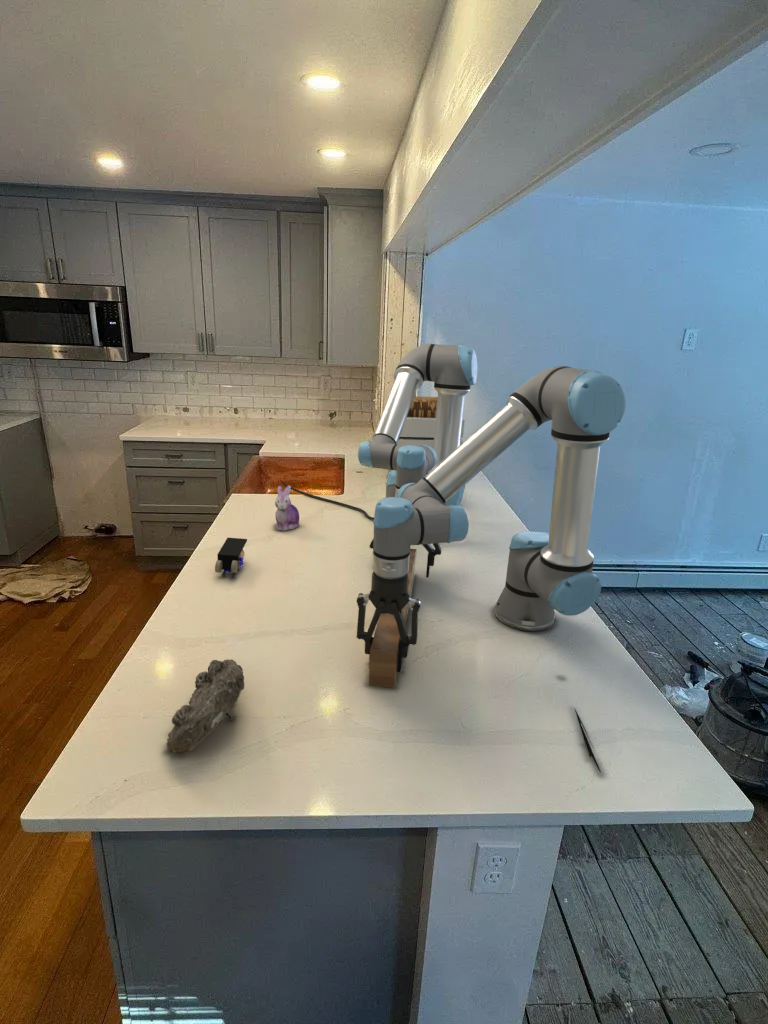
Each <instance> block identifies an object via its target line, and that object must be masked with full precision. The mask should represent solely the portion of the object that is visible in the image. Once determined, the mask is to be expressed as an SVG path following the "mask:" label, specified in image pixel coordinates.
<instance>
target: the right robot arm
mask: <svg viewBox="0 0 768 1024" xmlns="http://www.w3.org/2000/svg"><path fill="white" fill-rule="evenodd" d="M626 401H627V400H626V395H625V391H624V389H623V387H622V385H621V384H620V383H619V381H618V380H617V379H615V378H614V377H612V376H610V375H609V374H605V373H603V372H600V371H597V370H590V369H583V368H576V367H571V366H566V365H557V366H552V367H549V368H547V369H545V370H542V371H541V372H539V373H537V374H535V375H534V376H532V377H531V378H530V379H528V380H526V381H525V382H524V383H523V384H522V385H521V386H519V387H518V388H517V389H516V390H514V391H513V392H512V393H511V394H510V395H509V396H508V397H506V404H505V405H504V406H503V407H502V408H501V409H499V411H498V412H496V413H495V414H494V415H492V417H491V418H489V419H488V420H487V421H486V422H485V423H483V424H482V426H480V427H479V428H478V429H477V430H476V431H475V432H473V434H471V435H470V436H469V437H468V438H466V440H464V441H463V443H462V444H461V445H460V446H459V447H458V448H457V449H455V450H454V451H453V452H452V453H451V454H450V455H449V456H447V457H446V458H445V459H444V460H443V461H442V462H441V463H439V464H438V465H437V466H436V467H435V468H434V469H433V470H431V471H430V472H429V473H428V474H427V475H426V474H425V475H426V476H425V477H424V478H422V479H421V480H420V481H419V482H418V483H408V484H405V485H403V486H402V487H401V488H400V489H399V490H398V492H397V495H396V498H395V497H388V498H386V497H384V498H381V499H380V500H377V502H376V504H375V508H374V515H373V517H374V520H372V521H373V522H372V524H373V538H374V546H373V548H372V565H371V570H372V573H371V589H370V591H369V593H366V594H364V593H363V592H360V593H358V595H357V597H356V604H357V607H358V612H357V613H358V614H357V625H356V639H358V640H362V641H364V654H365V655H369V656H368V670H369V669H370V649H371V645H372V641H373V638H374V634H375V630H376V627H377V623H378V620H379V617H380V615H381V613H382V614H386V613H389V614H392V615H394V617H395V620H396V622H397V626H398V630H399V634H400V638H401V640H400V643H399V652H398V669H397V674H400V673H402V669H403V659H407V658H408V655H409V647H410V645H412V646H415V645H417V643H418V642H417V641H418V629H419V628H418V626H419V625H418V623H419V621H418V620H419V611H420V608H421V605H422V600H421V599H420V598H416V599H414V598H412V597H411V598H409V595H408V592H407V589H408V571H409V559H410V548H411V546H419V545H422V544H430V545H433V544H434V543H439V544H450V543H453V542H454V543H455V542H460V541H463V540H465V539H466V537H467V536H468V533H469V526H470V520H469V515H468V513H467V512H468V511H466V509H465V508H464V507H463V506H462V505H460V506H452V505H449V506H444V505H443V504H444V503H445V502H446V501H447V500H448V499H449V498H451V497H452V496H453V495H454V494H455V493H456V492H457V491H459V490H460V489H461V488H462V487H463V486H464V485H465V486H466V485H467V484H469V482H470V481H472V480H473V479H474V478H475V477H476V476H477V475H478V474H479V473H481V472H482V471H483V470H484V469H486V468H487V466H489V465H490V464H491V463H492V462H494V460H496V459H497V458H498V457H499V456H500V455H501V454H503V453H504V452H505V451H506V450H508V448H509V447H511V446H512V445H513V444H514V443H515V442H516V441H517V440H519V439H520V438H521V437H522V436H523V435H524V434H526V433H527V432H528V431H530V430H532V431H536V430H537V429H538V428H539V427H541V426H542V425H543V424H544V423H547V422H549V421H551V430H550V431H551V432H550V437H551V438H552V439H553V440H554V441H555V442H556V444H557V446H556V457H555V465H554V468H555V469H554V477H553V478H554V479H553V480H554V481H553V487H552V488H553V489H552V490H553V491H552V501H551V509H550V521H549V529H548V530H549V531H548V532H542V531H522V532H518V533H516V534H514V535H513V536H512V537H511V539H510V544H509V548H508V549H509V552H508V562H507V568H506V574H505V575H506V576H505V585H504V587H503V589H502V590H501V593H500V595H499V597H498V599H497V601H496V603H495V607H494V615H495V617H496V619H497V620H498V621H499V622H501V623H502V624H504V625H505V626H508V627H510V628H512V629H516V630H520V631H525V632H540V631H546V630H548V629H550V628H551V627H552V626H553V625H554V623H555V619H556V614H555V613H556V612H557V613H558V614H561V615H564V616H566V617H567V616H568V617H569V616H570V617H571V616H577V615H581V614H582V613H585V612H586V611H588V610H589V608H591V607H592V606H594V604H595V603H596V602H597V601H598V599H599V597H600V595H601V592H602V583H601V580H600V578H599V576H598V575H597V574H596V573H594V572H593V570H594V569H593V568H594V561H595V556H594V554H593V553H592V552H591V550H590V549H589V543H590V533H591V525H592V517H593V509H594V500H595V492H596V483H597V476H598V469H599V468H598V467H599V459H600V450H601V446H602V445H603V444H605V443H606V442H608V441H609V440H610V435H611V434H610V433H611V432H612V431H614V430H615V429H616V428H617V427H618V423H621V421H622V420H623V418H624V415H625V412H626V405H627V402H626ZM369 601H370V602H371V604H372V605H373V606H374V609H375V610H374V612H373V616H372V618H371V621H370V623H369V626H368V629H367V630H365V624H366V623H365V622H366V610H367V605H368V604H369ZM407 603H408V604H409V609H410V611H411V613H410V614H411V617H410V618H411V619H410V635H409V634H408V633H409V632H408V629H407V624H406V625H405V621H404V617H403V613H402V609H403V608H404V607H405V606H406V604H407ZM555 611H556V612H555Z"/></svg>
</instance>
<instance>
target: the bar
mask: <svg viewBox="0 0 768 1024" xmlns="http://www.w3.org/2000/svg"><path fill="white" fill-rule="evenodd" d="M416 563H417V548H411V547H410V559H409V571H408V589H407V592H408V595H409V598H412V593H413V588H414V582H415V576H416ZM409 607H410V605H409V604H408V603H407V604H406V606H405V607H404V608H403V609H402V613H403V617H404V621H405V625H406V626H407V621H408V616H409V609H410V608H409ZM373 637H374V638H373V641H372V645H371V649H370V669H369V668H368V686H373V687H374V686H375V687H382V688H383V687H384V688H392V689H393V688H394V689H395V688H396V683H397V677H398V673H397V669H398V652H399V643H400V640H401V638H400V634H399V630H398V626H397V622H396V620H395V617H394V615H392V614H389V613H386V614H382V613H381V615H380V617H379V620H378V622H377V625H376V627H375V630H374V633H373Z"/></svg>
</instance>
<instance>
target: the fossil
mask: <svg viewBox="0 0 768 1024" xmlns="http://www.w3.org/2000/svg"><path fill="white" fill-rule="evenodd" d="M243 670H244V669H243V667H242V665H240V664H237V662H236V661H235V660H234V659H232V658H231V659H227V658H226V659H224V660H223V661H222V660H217V659H212V660H211V661H210V663H209V665H208V666H207V671H201V672H199V673H198V674H197V675H196V676H195V680H194V684H195V685H194V687H195V689H194V690H193V693H192V694H191V697H190V698H189V700H188V704H184V705H182V706H181V707H180V709H177V710H176V711H175V713H174V715H173V716H172V718H171V723H172V724H173V727H172V730H171V731H170V732H168V734H167V738H166V741H167V742H166V745H167V749H168V750H169V751H173V752H174V753H176V754H178V753H182V752H188V751H189V752H192V751H193V750H195V748H196V747H197V746H199V744H200V743H201V742H203V741H204V740H205V739H206V738H207V737H208V736H209V735H210V734H211V733H212V732H214V730H215V729H217V727H218V726H219V724H220V722H221V721H222V720H223V719H224V718H225V716H226V717H227V719H229V720H233V717H232V715H230V714H229V710H230V709H231V708H234V706H235V704H236V703H237V702H238V699H239V697H240V695H241V693H242V691H243V690H245V689H244V688H245V675H244V671H243Z"/></svg>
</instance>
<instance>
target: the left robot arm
mask: <svg viewBox="0 0 768 1024" xmlns="http://www.w3.org/2000/svg"><path fill="white" fill-rule="evenodd" d="M477 378H478V359H477V354H476V351H475V349H474V348H473V347H471V346H466V345H465V346H464V345H460V344H459V345H455V344H454V345H453V344H440V343H439V344H438V343H435V344H434V343H423V344H419V345H418V346H416V347H414V348H412V349H411V350H410V351H409V352H407V353H406V354H405V355H404V356H403V357H402V358H401V360H400V361H399V363H398V364H397V365H396V367H395V370H394V372H393V379H394V381H393V385H392V386H391V389H390V392H389V394H388V397H387V399H386V402H385V404H384V407H383V409H382V411H381V415H380V417H379V419H378V423H377V425H376V428H375V430H374V433H373V435H372V438H371V439H370V440H369V439H368V440H363V441H362V442H360V444H359V447H358V451H357V459H358V461H359V464H360V465H361V466H364V467H367V468H370V469H371V468H372V469H382V470H388V471H389V472H388V473H387V475H386V482H385V498H388V497H395V498H396V495H397V492H398V490H399V489H400V488H401V487H402V486H403V485H405V484H408V483H418V482H419V481H420V480H421V479H422V478H424V477H425V476H426V475H427V474H428V473H429V472H430V471H431V470H433V469H434V468H435V467H436V466H437V465H438V464H439V463H441V462H442V461H443V460H444V459H445V458H446V457H447V456H449V455H450V454H451V453H452V452H453V451H454V450H455V449H457V448H458V447H459V446H460V439H461V438H460V436H461V426H462V419H463V416H464V415H463V414H464V408H465V407H464V406H465V397H466V395H467V394H468V393H469V392H470V391H471V386H474V385H476V383H477V381H478V380H477ZM424 382H432V383H433V389H434V390H435V391H436V393H437V397H438V400H437V411H436V422H435V433H434V445H433V448H432V447H430V446H428V445H421V446H405V445H397V442H398V439H399V437H400V434H401V431H402V428H403V426H404V423H405V420H406V418H407V415H408V412H409V410H410V407H411V404H412V401H413V399H414V396H415V397H416V393H417V391H418V389H420V388H421V387H422V385H423V384H424ZM390 470H391V471H390ZM280 484H282V485H284V486H285V488H286V487H287V486H288V485H289V484H288V483H286V482H285V481H283V480H281V481H280ZM465 489H466V485H464V486H463V487H462V488H461V489H460V490H459V491H457V492H456V493H455V494H454V495H453V496H452V497H451V498H449V499H448V500H447V501H446V502H445V503H444V504H443V505H444V506H449V505H452V506H459V505H460V506H461V503H462V500H463V497H464V493H465ZM291 490H292V491H294V492H296V493H299V494H301V495H304V496H307V497H310V498H313V499H317V500H321V501H325V502H328V503H332V504H335V505H339V506H343V507H345V508H349V509H353V510H356V511H359V512H360V513H362V514H363V515H364V517H366V518H367V519H368V520H372V521H374V516H370V515H368V513H367V511H365V510H364V509H362V508H360V507H358V506H354V505H350V504H347V503H345V502H340V501H337V500H332V499H329V498H326V497H321V496H318V495H313V494H311V493H308V492H305V491H302V490H299V489H297V488H294V487H293V486H291ZM421 545H422V546H423V548H424V549H425V550H426V552H427V560H426V570H425V571H426V572H425V578H427V579H429V578H430V569H431V568H430V567H433V566H434V565H435V558H436V557H435V556H440V555H442V551H443V549H442V546H441V543H434V544H421ZM368 546H369V547H368V548H369V549H371V550H373V546H374V537H373V538H372V540H371V541H370V544H369V545H368Z"/></svg>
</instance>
